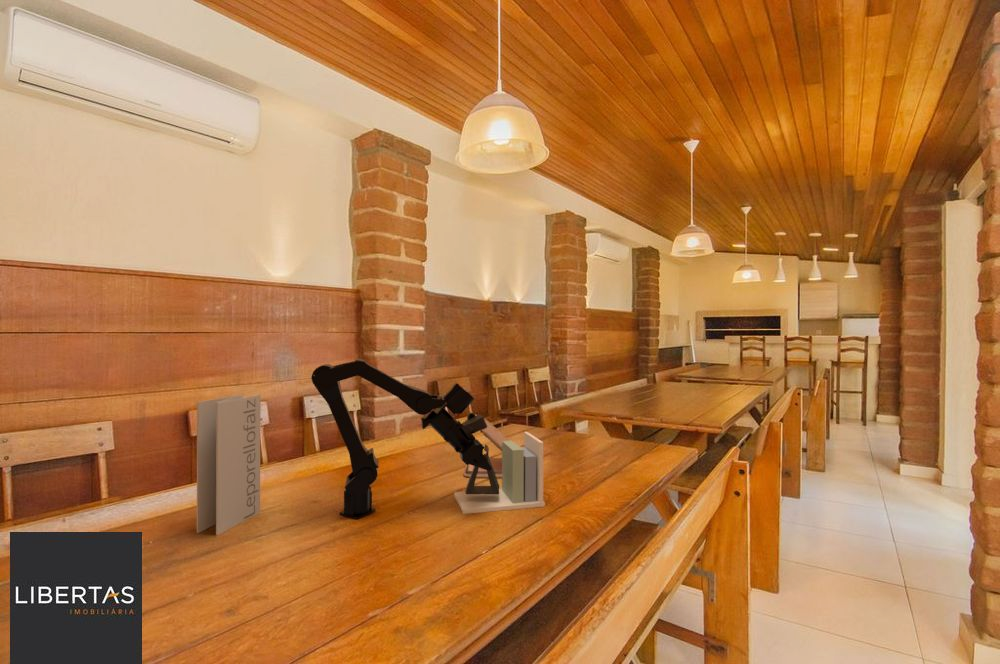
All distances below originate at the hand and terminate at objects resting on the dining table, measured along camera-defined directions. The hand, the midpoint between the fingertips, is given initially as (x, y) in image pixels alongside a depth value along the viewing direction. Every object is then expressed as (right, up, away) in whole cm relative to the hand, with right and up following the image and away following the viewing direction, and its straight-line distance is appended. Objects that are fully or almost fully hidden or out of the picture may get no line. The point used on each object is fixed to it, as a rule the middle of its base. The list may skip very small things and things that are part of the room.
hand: (487, 466), depth 132 cm
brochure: (-62, -10, -15) cm, 64 cm away
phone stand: (-1, -7, 0) cm, 7 cm away
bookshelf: (+3, -10, +1) cm, 10 cm away
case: (+2, -10, +31) cm, 33 cm away
